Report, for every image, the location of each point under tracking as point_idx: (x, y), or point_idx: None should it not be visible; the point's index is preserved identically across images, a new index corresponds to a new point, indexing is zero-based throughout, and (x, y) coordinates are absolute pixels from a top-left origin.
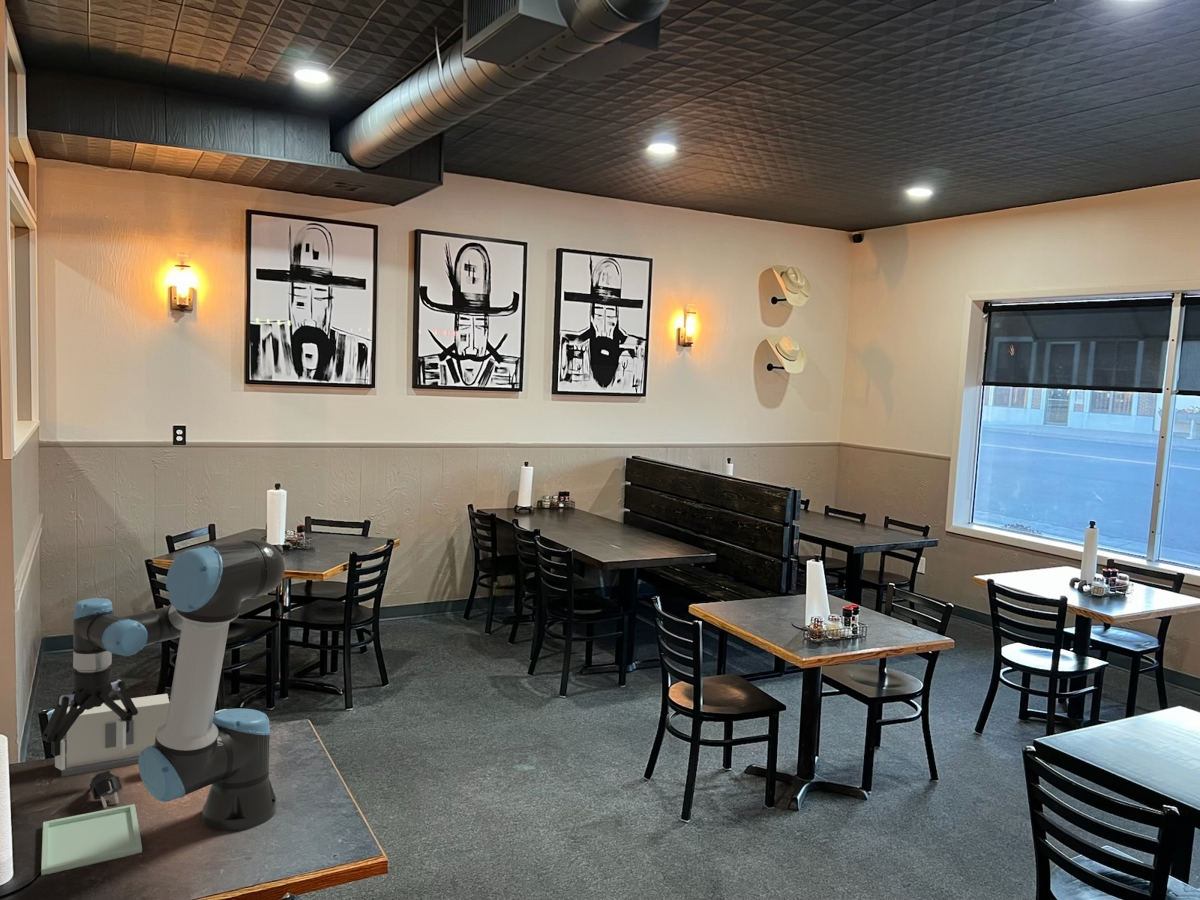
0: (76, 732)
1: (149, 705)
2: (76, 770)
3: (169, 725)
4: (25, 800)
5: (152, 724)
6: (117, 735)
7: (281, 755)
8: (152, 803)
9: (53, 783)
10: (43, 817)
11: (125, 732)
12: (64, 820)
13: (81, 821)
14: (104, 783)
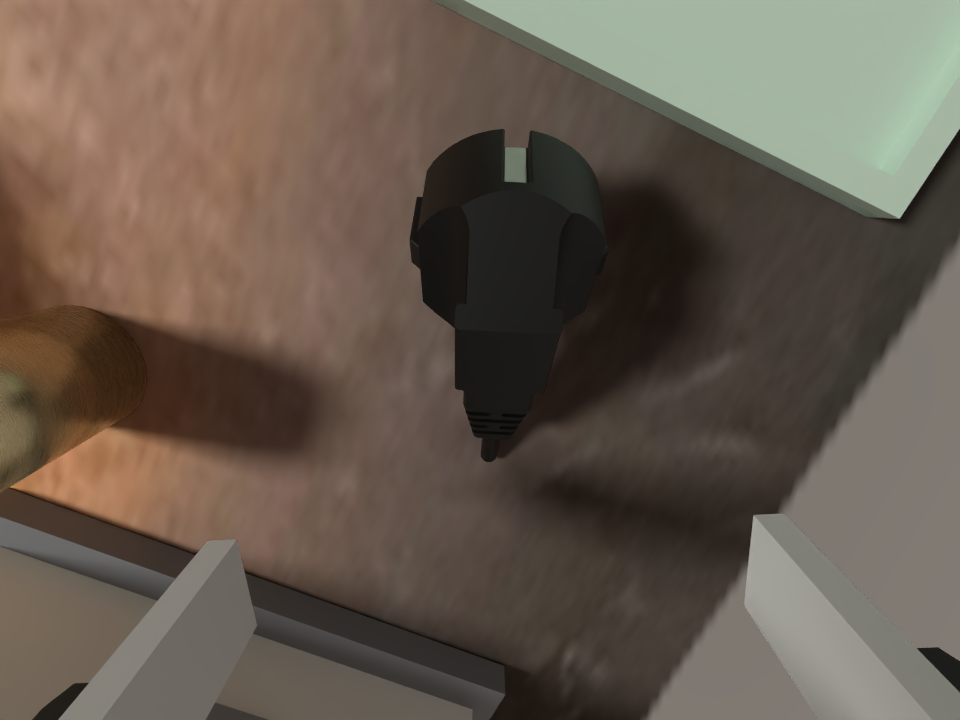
0: None
1: None
2: (446, 664)
3: None
4: (721, 573)
5: None
6: (196, 708)
7: None
8: (306, 7)
9: (556, 638)
10: (782, 348)
11: (100, 676)
12: (818, 140)
13: (730, 91)
14: (562, 182)
